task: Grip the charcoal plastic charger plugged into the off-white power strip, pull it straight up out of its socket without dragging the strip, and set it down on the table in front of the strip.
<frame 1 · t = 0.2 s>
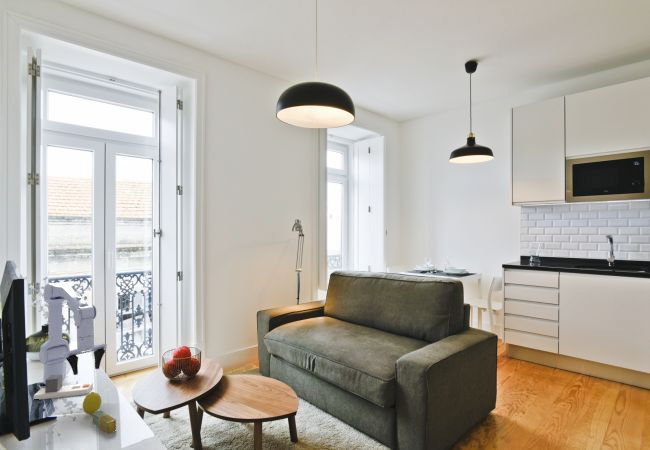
hand: (86, 371, 141), 10 cm above the table, tool pointing down, fingers open, 7 cm apart
power strip: (64, 396, 144), on the table, touching charger
medication box: (103, 428, 119), on the table
charger: (53, 394, 143), point 1 cm above the table, touching power strip
lemon: (91, 415, 127), on the table
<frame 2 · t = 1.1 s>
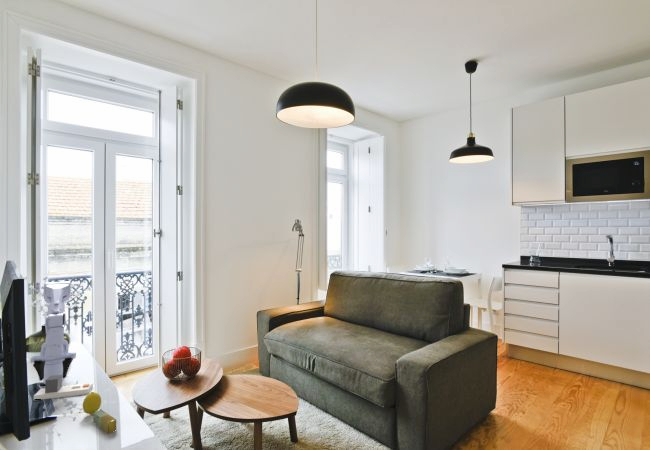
hand: (53, 378, 143), 7 cm above the table, tool pointing down, fingers open, 7 cm apart
nothing on the table moved.
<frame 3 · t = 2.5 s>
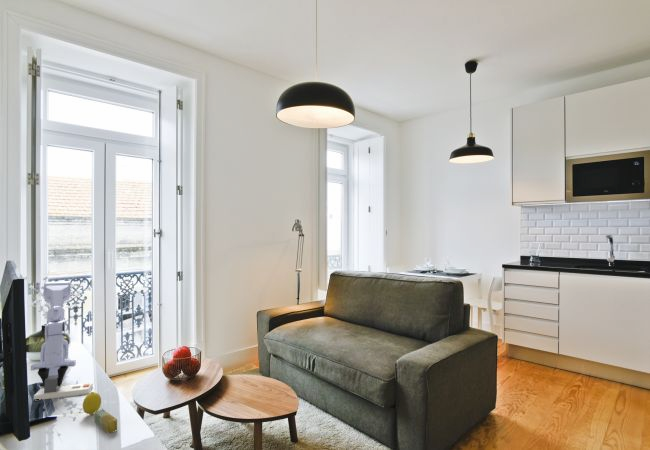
hand: (52, 386, 143), 4 cm above the table, tool pointing down, fingers closed on charger, 4 cm apart
power strip: (64, 396, 144), on the table
charger: (52, 394, 142), point 1 cm above the table, touching gripper
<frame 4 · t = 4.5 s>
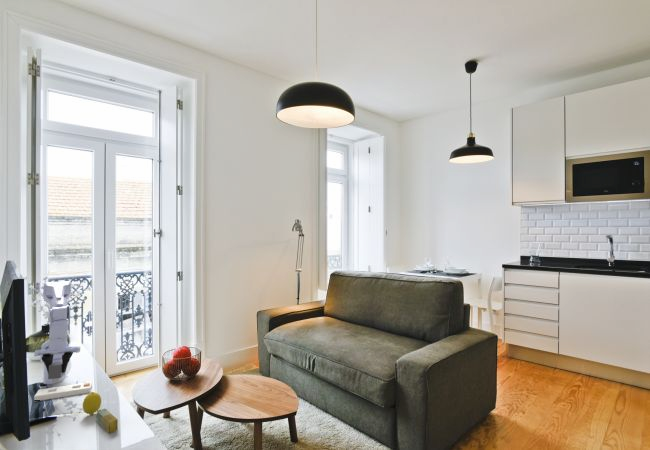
hand: (57, 372, 139), 11 cm above the table, tool pointing down, fingers closed on charger, 4 cm apart
charger: (56, 381, 139), point 7 cm above the table, touching gripper
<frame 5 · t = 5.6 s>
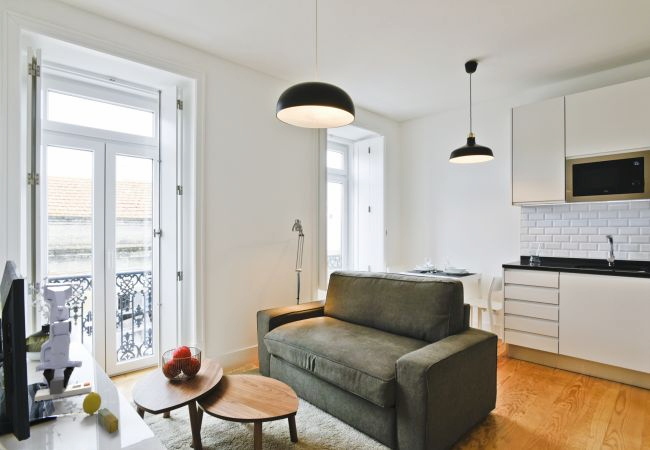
hand: (58, 387, 137), 5 cm above the table, tool pointing down, fingers closed on charger, 4 cm apart
charger: (58, 396, 137), point 2 cm above the table, touching gripper
when the fingers open (4 cm above the table, at t = 6.6 s): charger drops 1 cm, on the table.
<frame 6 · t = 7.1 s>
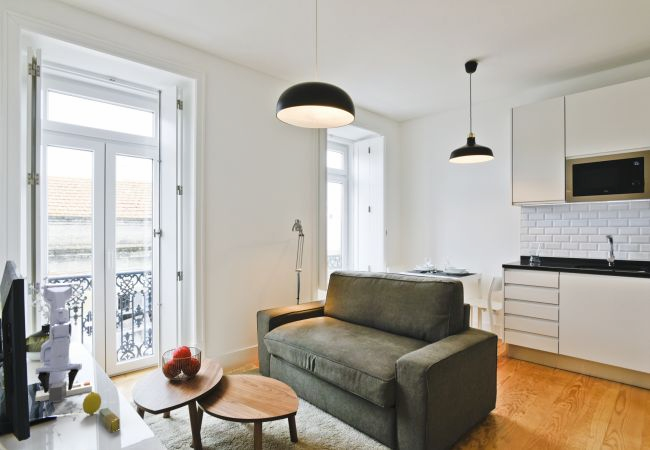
hand: (58, 390, 137), 4 cm above the table, tool pointing down, fingers open, 7 cm apart
charger: (57, 402, 137), on the table
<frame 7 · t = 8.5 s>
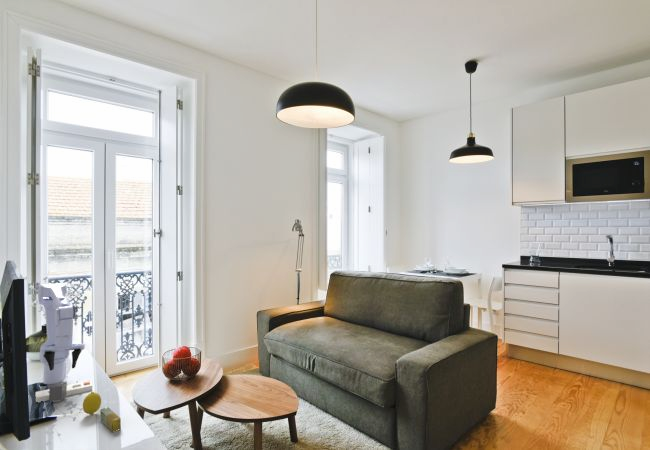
hand: (62, 368, 147), 9 cm above the table, tool pointing down, fingers open, 7 cm apart
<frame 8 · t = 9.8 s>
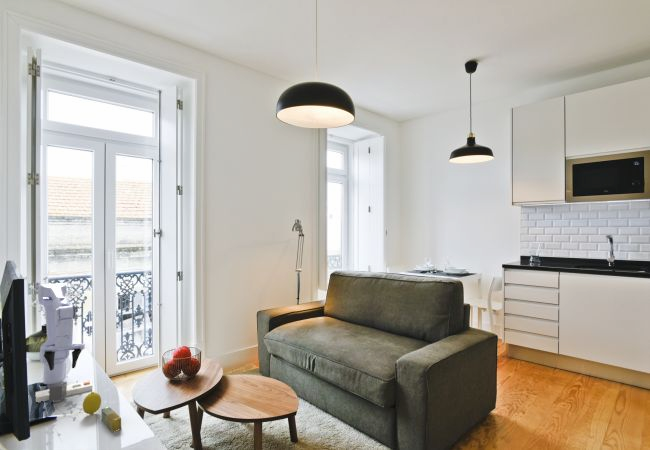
hand: (62, 368, 147), 9 cm above the table, tool pointing down, fingers open, 7 cm apart
at the end: charger inside the target area (1.8 cm from its centre), on the table; power strip moved 0.5 cm from its start; the gripper is holding nothing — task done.
